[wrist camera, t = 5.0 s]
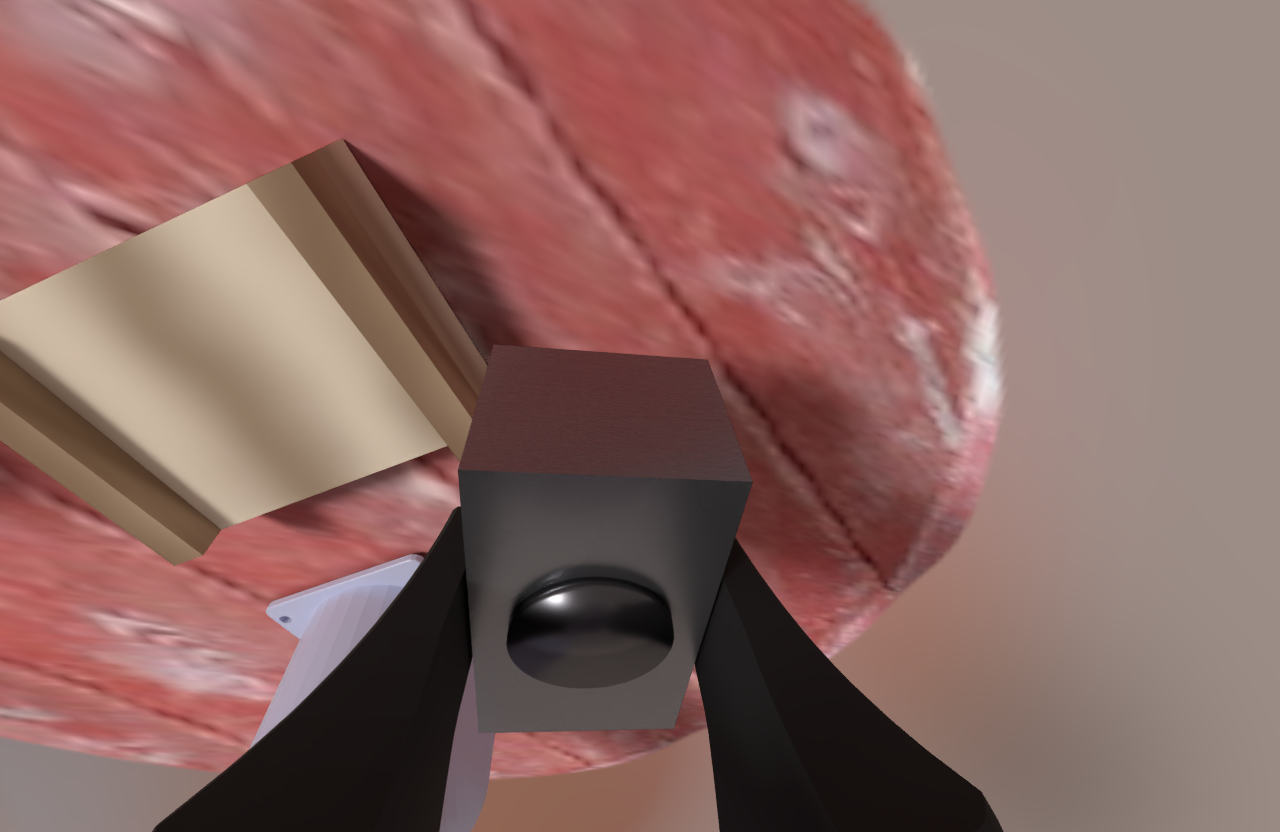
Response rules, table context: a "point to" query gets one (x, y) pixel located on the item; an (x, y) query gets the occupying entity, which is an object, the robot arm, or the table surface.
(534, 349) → the housing
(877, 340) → the table surface
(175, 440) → the stand
